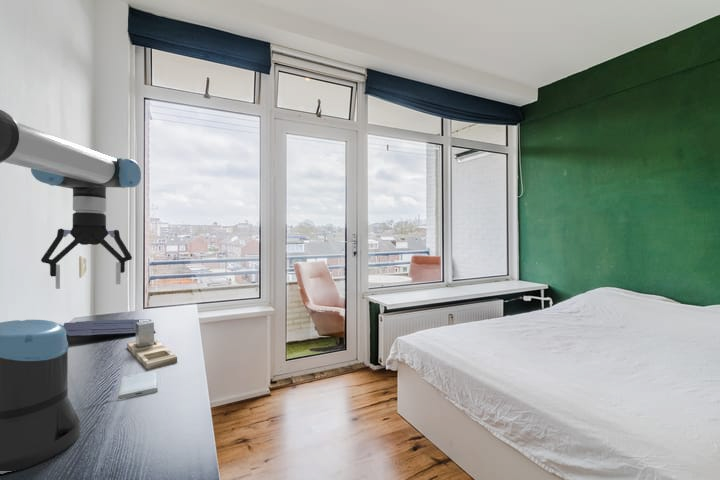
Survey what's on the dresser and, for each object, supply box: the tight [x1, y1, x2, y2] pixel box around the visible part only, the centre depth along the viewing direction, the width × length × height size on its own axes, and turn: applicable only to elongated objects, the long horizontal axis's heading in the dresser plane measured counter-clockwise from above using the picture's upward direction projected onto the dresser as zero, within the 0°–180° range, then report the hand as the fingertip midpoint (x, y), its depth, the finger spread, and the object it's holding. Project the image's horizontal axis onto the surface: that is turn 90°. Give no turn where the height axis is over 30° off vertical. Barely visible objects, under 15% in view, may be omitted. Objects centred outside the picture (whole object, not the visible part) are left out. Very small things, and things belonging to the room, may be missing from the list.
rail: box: [126, 338, 178, 370], centre depth 109 cm, size 26×8×2 cm, turn 46°
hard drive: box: [117, 370, 159, 401], centre depth 88 cm, size 2×8×12 cm
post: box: [135, 319, 155, 349], centre depth 114 cm, size 4×4×9 cm
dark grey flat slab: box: [62, 319, 140, 337], centre depth 135 cm, size 24×30×4 cm
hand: (89, 286), depth 96 cm, fingers open, 13 cm apart
